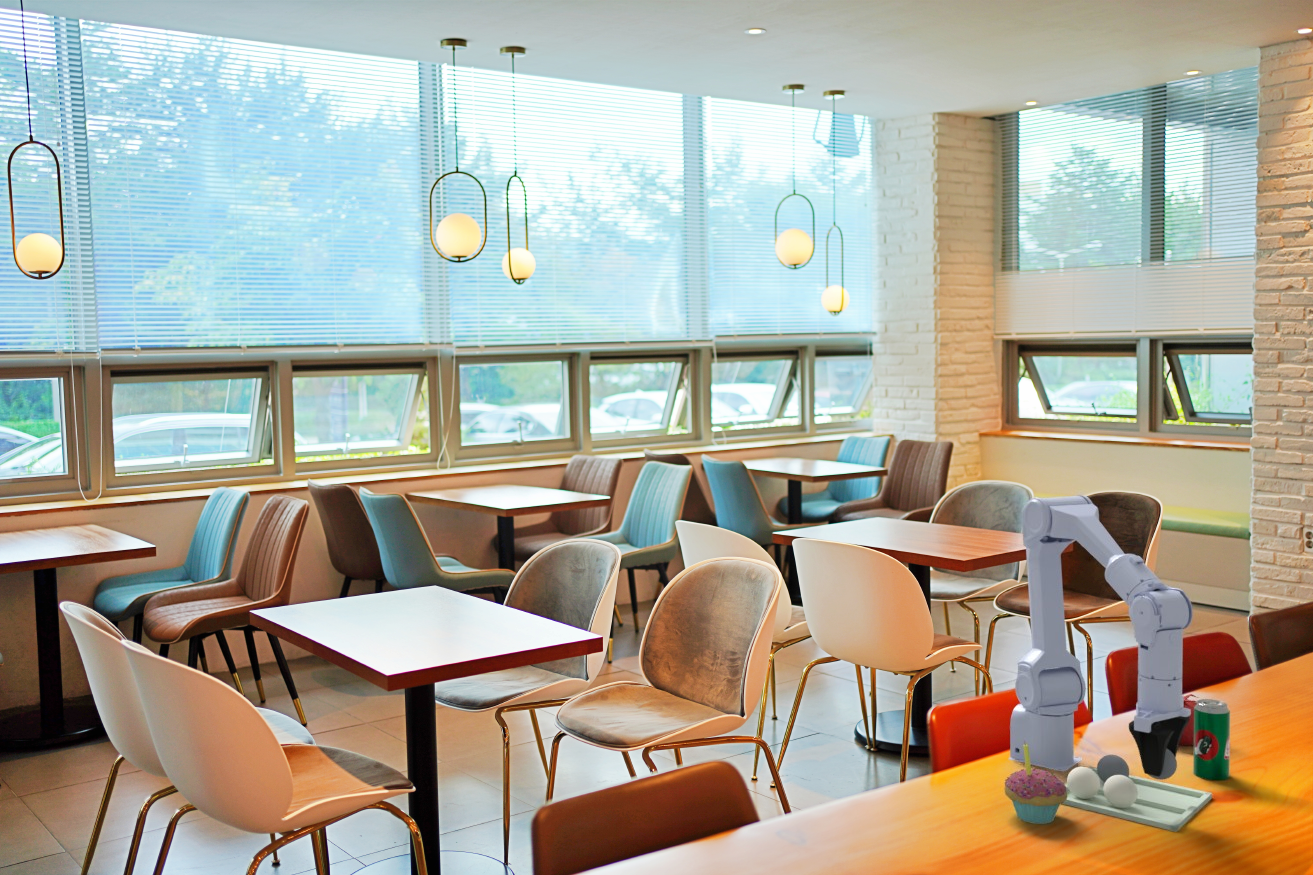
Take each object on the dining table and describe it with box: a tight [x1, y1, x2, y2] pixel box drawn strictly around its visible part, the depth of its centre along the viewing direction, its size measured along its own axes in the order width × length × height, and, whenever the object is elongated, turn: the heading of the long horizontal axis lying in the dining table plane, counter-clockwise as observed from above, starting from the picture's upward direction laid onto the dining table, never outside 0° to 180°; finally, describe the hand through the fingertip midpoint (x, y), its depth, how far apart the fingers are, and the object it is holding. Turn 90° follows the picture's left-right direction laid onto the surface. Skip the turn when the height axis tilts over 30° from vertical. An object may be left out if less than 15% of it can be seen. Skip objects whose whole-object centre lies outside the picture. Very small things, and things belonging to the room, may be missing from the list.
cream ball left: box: [1066, 766, 1100, 799], centre depth 167 cm, size 5×5×5 cm
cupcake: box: [1004, 740, 1067, 825], centre depth 161 cm, size 9×8×12 cm
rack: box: [1061, 766, 1213, 833], centre depth 167 cm, size 18×16×1 cm
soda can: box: [1192, 698, 1231, 782], centre depth 176 cm, size 5×5×12 cm
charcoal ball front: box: [1141, 748, 1178, 781], centre depth 160 cm, size 5×5×5 cm
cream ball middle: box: [1103, 775, 1138, 808], centre depth 164 cm, size 5×5×5 cm
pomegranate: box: [1178, 693, 1200, 747], centre depth 194 cm, size 10×10×9 cm
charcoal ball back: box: [1096, 754, 1130, 783], centre depth 172 cm, size 5×5×5 cm
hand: (1158, 769), depth 160 cm, fingers closed on charcoal ball front, 5 cm apart
